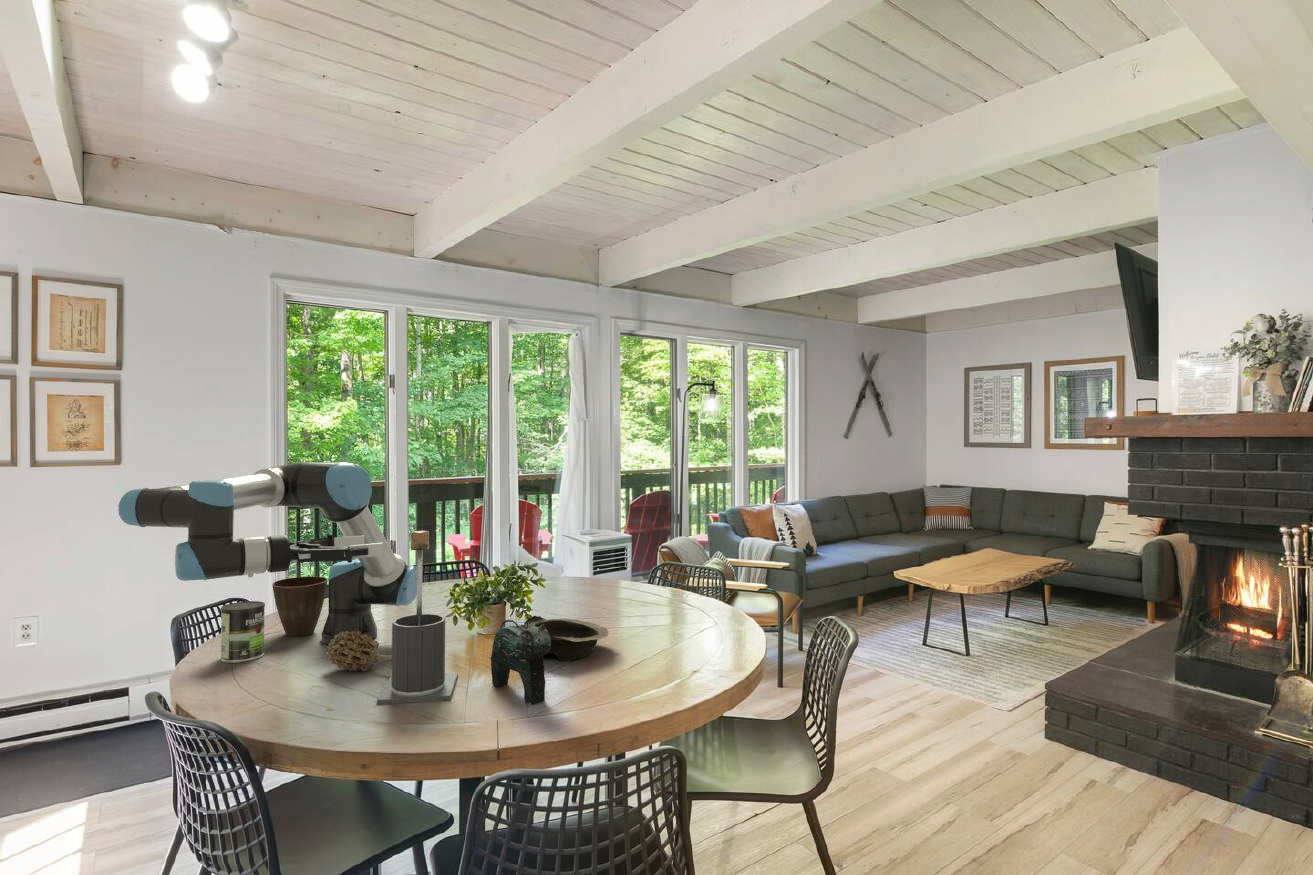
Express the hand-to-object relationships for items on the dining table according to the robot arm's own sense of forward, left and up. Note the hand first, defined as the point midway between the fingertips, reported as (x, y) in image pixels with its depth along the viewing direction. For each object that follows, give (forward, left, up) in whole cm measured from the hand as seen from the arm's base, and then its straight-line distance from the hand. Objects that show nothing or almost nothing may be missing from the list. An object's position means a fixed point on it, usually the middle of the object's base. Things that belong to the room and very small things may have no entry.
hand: (373, 545), depth 155 cm
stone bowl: (-31, +45, -36) cm, 66 cm away
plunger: (-6, +9, -25) cm, 27 cm away
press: (-7, +9, -36) cm, 38 cm away
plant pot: (-61, -34, -36) cm, 78 cm away
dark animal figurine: (-1, +32, -36) cm, 48 cm away
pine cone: (-23, -6, -36) cm, 43 cm away
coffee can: (-40, -42, -36) cm, 68 cm away
